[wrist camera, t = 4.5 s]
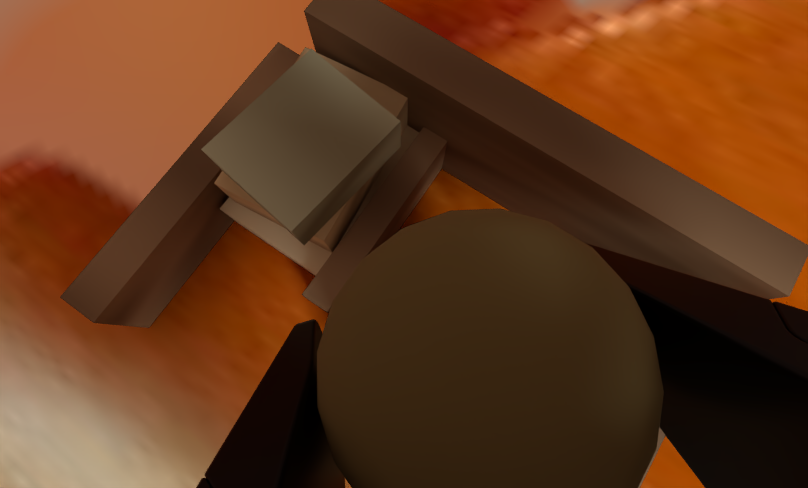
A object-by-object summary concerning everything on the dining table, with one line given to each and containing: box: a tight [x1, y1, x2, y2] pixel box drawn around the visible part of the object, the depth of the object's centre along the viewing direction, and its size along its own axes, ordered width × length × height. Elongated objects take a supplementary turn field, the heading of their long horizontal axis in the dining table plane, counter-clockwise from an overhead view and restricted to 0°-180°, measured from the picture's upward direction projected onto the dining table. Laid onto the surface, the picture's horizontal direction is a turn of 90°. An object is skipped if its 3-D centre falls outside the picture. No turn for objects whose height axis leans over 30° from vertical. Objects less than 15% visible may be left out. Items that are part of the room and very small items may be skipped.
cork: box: [317, 209, 664, 488], centre depth 11 cm, size 6×6×11 cm
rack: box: [60, 0, 808, 488], centre depth 14 cm, size 13×17×5 cm
